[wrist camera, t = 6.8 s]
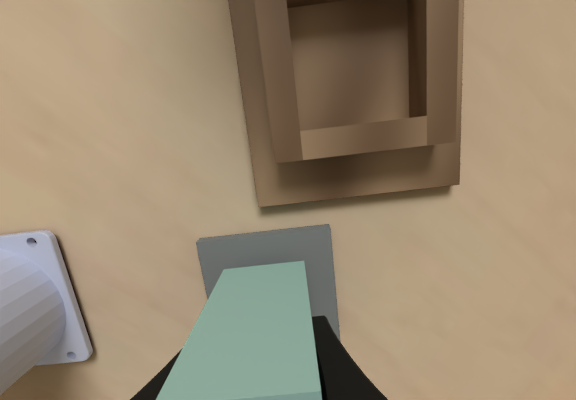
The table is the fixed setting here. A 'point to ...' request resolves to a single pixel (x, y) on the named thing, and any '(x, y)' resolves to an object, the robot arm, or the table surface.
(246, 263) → the pad
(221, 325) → the block
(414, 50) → the pocket board
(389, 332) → the table surface
